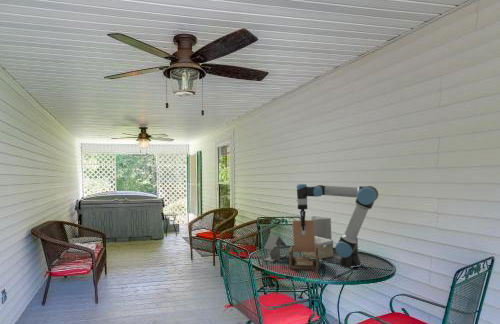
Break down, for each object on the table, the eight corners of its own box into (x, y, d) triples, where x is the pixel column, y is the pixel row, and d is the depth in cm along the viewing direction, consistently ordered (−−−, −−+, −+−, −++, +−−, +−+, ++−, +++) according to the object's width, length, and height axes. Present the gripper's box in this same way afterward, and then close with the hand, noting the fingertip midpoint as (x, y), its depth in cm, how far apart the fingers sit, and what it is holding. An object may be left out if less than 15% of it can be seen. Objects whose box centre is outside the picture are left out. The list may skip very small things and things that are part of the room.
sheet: (294, 250, 259) (292, 220, 259) (315, 251, 255) (313, 220, 256) (294, 251, 256) (292, 220, 257) (315, 251, 253) (313, 220, 253)
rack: (291, 263, 262) (290, 245, 262) (318, 263, 258) (318, 246, 258) (289, 270, 244) (288, 251, 245) (318, 271, 240) (317, 252, 240)
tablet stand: (273, 263, 265) (272, 238, 265) (264, 261, 271) (263, 236, 271) (286, 257, 278) (285, 234, 278) (277, 255, 285) (276, 232, 285)
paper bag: (305, 248, 306) (304, 218, 306) (315, 245, 316) (314, 216, 316) (322, 251, 292) (321, 220, 292) (332, 248, 302) (331, 217, 302)
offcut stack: (295, 265, 251) (294, 256, 251) (313, 266, 248) (313, 256, 248) (294, 268, 245) (294, 258, 245) (313, 268, 242) (313, 259, 242)
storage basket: (300, 255, 285) (300, 238, 285) (314, 251, 293) (314, 235, 294) (320, 261, 265) (320, 243, 265) (334, 257, 273) (334, 239, 273)
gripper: (298, 202, 265) (299, 232, 264) (296, 205, 249) (298, 236, 249) (307, 202, 263) (309, 232, 263) (306, 205, 248) (308, 236, 248)
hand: (303, 234), depth 256 cm, fingers closed on sheet, 2 cm apart
